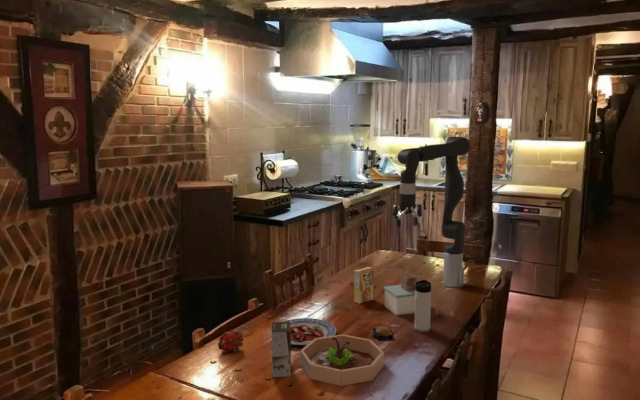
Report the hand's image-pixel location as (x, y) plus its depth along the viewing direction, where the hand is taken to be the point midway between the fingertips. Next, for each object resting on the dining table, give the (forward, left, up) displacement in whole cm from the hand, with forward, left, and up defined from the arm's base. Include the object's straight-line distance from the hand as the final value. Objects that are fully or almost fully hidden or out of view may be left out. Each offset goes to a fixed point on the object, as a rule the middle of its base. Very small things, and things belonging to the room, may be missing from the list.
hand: (406, 226), depth 252 cm
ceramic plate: (+60, +28, -35) cm, 75 cm away
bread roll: (+31, +39, -35) cm, 60 cm away
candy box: (+22, 0, -34) cm, 41 cm away
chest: (+8, +16, -34) cm, 39 cm away
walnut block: (+7, +16, -25) cm, 30 cm away
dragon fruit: (+90, +33, -34) cm, 102 cm away
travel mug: (+13, +39, -34) cm, 54 cm away
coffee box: (+76, +54, -34) cm, 99 cm away
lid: (+8, +15, -26) cm, 32 cm away
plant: (+57, +58, -35) cm, 89 cm away
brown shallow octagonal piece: (+55, +57, -34) cm, 86 cm away
